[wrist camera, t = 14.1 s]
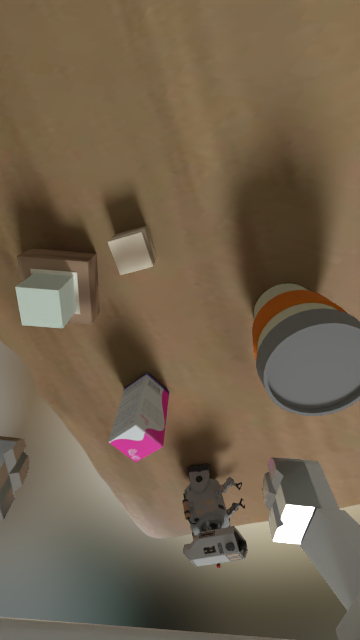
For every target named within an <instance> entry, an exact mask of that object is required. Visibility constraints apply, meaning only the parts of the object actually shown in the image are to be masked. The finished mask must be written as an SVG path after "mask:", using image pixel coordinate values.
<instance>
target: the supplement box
mask: <svg viewBox="0 0 360 640" xmlns="http://www.w3.org/2000/svg"><path fill="white" fill-rule="evenodd" d="M168 398H169V392H168V391H167V390H166V389H165V388H164V387H163V386H162V385H161V384H160V383H158V382H157V381H156V380H155V379H154V378H153V377H152V376H151V375H150V374H149V373H146V374H144V375H143V376H141V377H140V378H139V379H137V380H136V381H134V382H133V383H131V384H130V385H129V386H127V387H126V388H124V391H123V394H122V398H121V401H120V405H119V408H118V411H117V415H116V418H115V422H114V425H113V428H112V432H111V435H110V438H109V443H110V444H112V445H113V446H114V447H116V448H117V449H119V450H120V451H121V452H123V453H124V454H125V455H127V456H128V457H129V458H131V459H132V460H133V461H135V462H137V461H139V460H141V459H142V458H144V457H146V456H147V455H149V454H151V453H153V452H155V451H156V450H158V449H160V448H162V447H163V443H164V434H165V424H166V416H167V406H168Z"/></svg>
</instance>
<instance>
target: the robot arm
mask: <svg viewBox="0 0 360 640" xmlns="http://www.w3.org/2000/svg"><path fill="white" fill-rule="evenodd" d="M25 447H26V444H25V440H24V439H21V438H13V437H2V436H0V520H4V519H5V517H6V515H7V513H8V511H9V509H10V507H11V505H12V503H13V502H14V500H15V497H14V491H15V490H17V489H18V488H20V487H21V486H22V485H23V483H24V480H25V478H26V476H27V473H28V469H29V458H28V455H27V454H26V453H25V452H24V449H25ZM268 469H269V472H267V473H266V474H265V476H264V480H263V496H264V502H265V505H266V506H267V508H268V509H269V510H270V511H271V512H270V515H269V518H268V521H269V525H270V530H271V534H272V539H273V541H276V542H284V543H295V544H301V545H300V546H301V547H302V549H303V550H304V551H305V553H306V554H307V556H308V557H309V559H310V560H311V561H312V562H313V564H314V565H315V567H316V568H317V570H318V571H319V572H320V574H321V575H322V576H323V578H324V579H325V581H326V582H327V583H328V585H329V586H330V587H331V589H332V590H333V592H334V593H335V594H336V596H337V597H338V598H339V600H340V601H341V603H342V604H343V605H344V607H345V608H346V610H347V611H348V612H347V613H346V615H345V616H344V617H343V619H342V620H341V622H340V623H339V625H338V627H337V628H336V633H337V636H338V640H360V525H359V524H358V523H357V522H356V521H355V520H354V519H353V518H352V517H351V516H350V515H349V514H348V513H347V512H346V511H344V510H339V507H338V505H337V503H336V500H335V498H334V496H333V493H332V491H331V489H330V486H329V484H328V482H327V479H326V477H325V475H324V472H323V470H322V468H321V465H320V464H319V462H318V461H311V460H300V459H287V458H270V459H269V462H268ZM0 640H290V639H277V638H264V637H252V636H238V635H227V634H214V633H200V632H188V631H175V630H162V629H149V628H137V627H124V626H112V625H98V624H86V623H72V622H59V621H48V620H35V619H21V618H8V617H0Z"/></svg>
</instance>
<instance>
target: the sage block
mask: <svg viewBox="0 0 360 640" xmlns="http://www.w3.org/2000/svg"><path fill="white" fill-rule="evenodd" d="M15 288H16V293H17V299H18V304H19V310H20V316H21V321H22V325H28V326H40V327H53V328H64V326H65V325H66V324H67V322H68V321H69V320H70V318H71V317H72V316H73V315H74V313H75V312H76V301H75V290H74V278H73V276H66V275H54V274H42V273H34V274H33V275H31V276H30V277H28V278H27V279H26V280H24V281H23V282H21V283H20V284H19V285H17V286H16V287H15Z"/></svg>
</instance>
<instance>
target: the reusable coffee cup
mask: <svg viewBox="0 0 360 640" xmlns="http://www.w3.org/2000/svg"><path fill="white" fill-rule="evenodd" d="M252 335H253V346H254V354H255V358H256V367H257V372H258V375H259V377H260V379H261V381H262V383H263V385H264V387H265V389H266V391H267V393H268V395H269V397H270V398H271V399H272V400H273V402H274V403H275V404H277V405H278V406H279V407H281V408H282V409H284V410H286V411H289V412H291V413H295V414H298V415H305V416H321V415H326V414H332V413H335V412H338V411H341V410H343V409H345V408H347V407H349V406H351V405H353V404H354V403H356V402H357V401H359V400H360V322H359V321H358V320H357V319H356V318H355V317H353V316H351V315H349V314H348V313H347V312H346V311H344V310H343V309H342V308H341V307H339V306H338V305H336V304H335V303H333V302H332V301H330V300H328V299H327V298H325V297H324V296H322V295H320V294H318V293H316V292H313V291H309V290H307V289H306V288H304V287H302V286H300V285H297V284H291V283H287V284H280V285H276V286H274V287H272V288H270V289H268V290H267V291H265V292H264V293H263V294H262V295H261V296H260V298H259V299H258V300H257V303H256V305H255V308H254V323H253V329H252Z"/></svg>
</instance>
